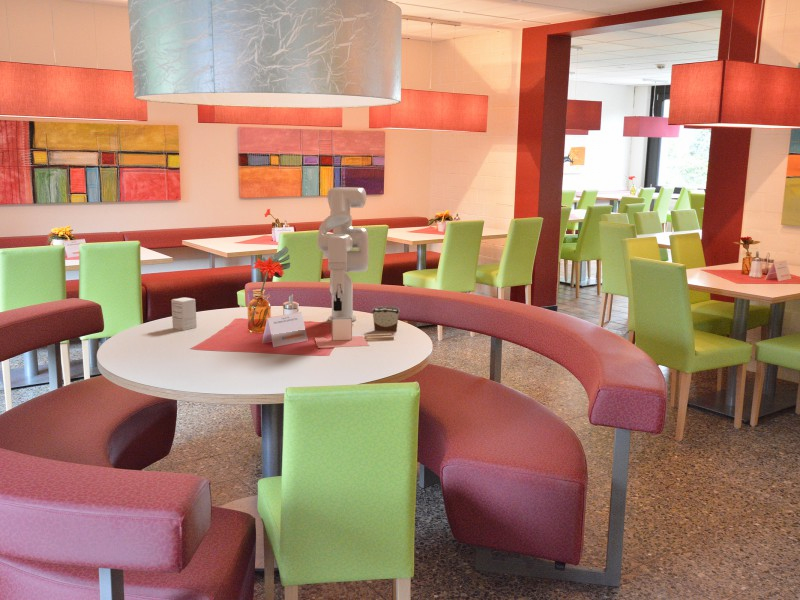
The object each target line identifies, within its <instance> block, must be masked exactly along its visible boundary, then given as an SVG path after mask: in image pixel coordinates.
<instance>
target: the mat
mask: <svg viewBox="0 0 800 600" xmlns="http://www.w3.org/2000/svg"><path fill="white" fill-rule="evenodd" d="M314 338H315V339H314V342H315V341H316V342H315V344H316V346H318V347H317V349H318V348H325V349H334V348H346V347H348V348H350V347H352V348H353V347H369V346H370V344H369V343H368V341H367V340H366V339H365V336H363V335H356V336H353V335H352V340H339V341H332V338H330V339H326V338H324V337H314Z"/></svg>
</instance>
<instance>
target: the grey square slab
mask: <svg viewBox="0 0 800 600" xmlns="http://www.w3.org/2000/svg"><path fill="white" fill-rule="evenodd" d="M352 336H353V321H352V318H351V317H345V318H332V321H331V337H332V341H339V340H352Z"/></svg>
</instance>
